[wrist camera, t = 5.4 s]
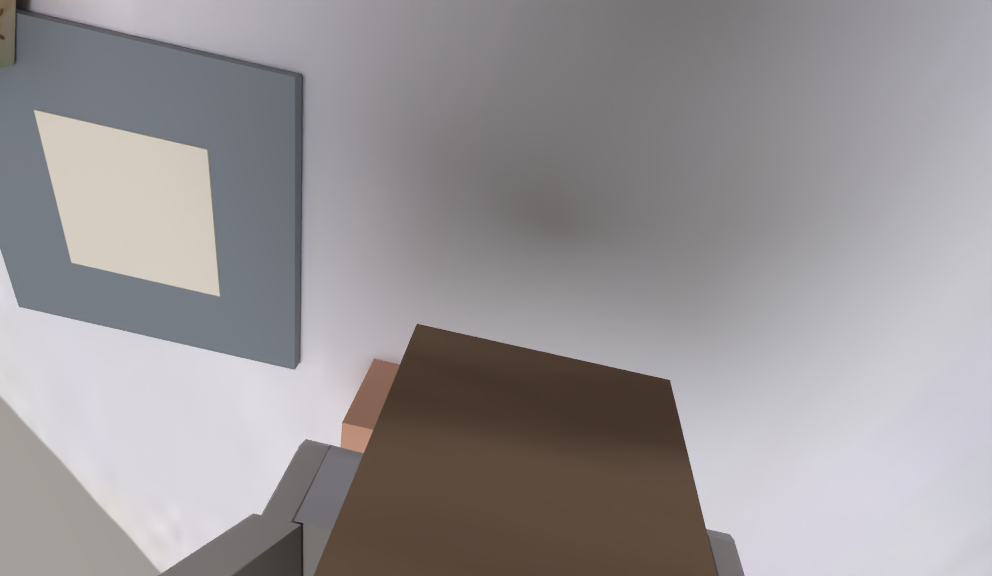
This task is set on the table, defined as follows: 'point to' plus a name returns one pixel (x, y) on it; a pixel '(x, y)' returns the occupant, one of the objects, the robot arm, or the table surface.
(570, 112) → the table surface
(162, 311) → the grey flat square plate
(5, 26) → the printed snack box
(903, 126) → the table surface
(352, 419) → the terracotta block
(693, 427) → the table surface
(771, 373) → the table surface
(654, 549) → the walnut block
